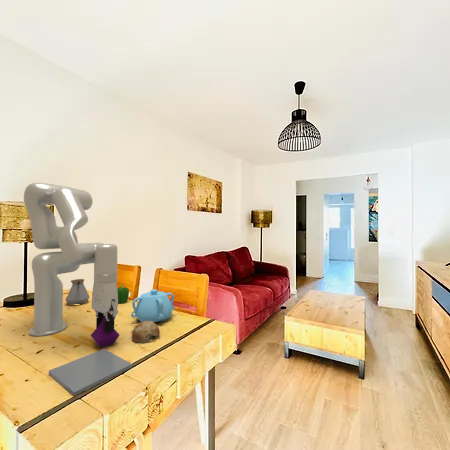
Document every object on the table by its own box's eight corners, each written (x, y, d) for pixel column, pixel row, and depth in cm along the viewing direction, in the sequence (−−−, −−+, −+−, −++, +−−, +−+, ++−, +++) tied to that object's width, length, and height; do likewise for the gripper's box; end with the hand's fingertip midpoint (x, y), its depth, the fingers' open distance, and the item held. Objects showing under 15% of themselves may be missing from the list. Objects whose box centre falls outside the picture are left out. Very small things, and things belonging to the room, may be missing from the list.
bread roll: (139, 355, 88) (146, 337, 87) (123, 336, 93) (129, 319, 92) (160, 344, 97) (167, 327, 95) (144, 328, 102) (150, 311, 100)
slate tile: (48, 374, 70) (48, 370, 70) (104, 351, 83) (104, 348, 83) (74, 396, 61) (74, 392, 61) (132, 367, 74) (132, 363, 74)
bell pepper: (121, 305, 135) (121, 286, 135) (110, 303, 137) (110, 285, 138) (132, 301, 142) (132, 283, 143) (121, 299, 145) (121, 282, 146)
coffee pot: (65, 302, 140) (66, 275, 140) (88, 299, 146) (89, 273, 146) (64, 313, 122) (64, 282, 122) (91, 309, 128) (91, 280, 128)
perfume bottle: (111, 337, 94) (112, 290, 94) (119, 344, 89) (120, 293, 89) (90, 344, 89) (90, 293, 89) (97, 351, 83) (97, 297, 84)
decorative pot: (149, 312, 123) (149, 284, 124) (178, 315, 119) (178, 286, 119) (127, 324, 108) (127, 292, 108) (159, 328, 103) (159, 295, 103)
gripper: (83, 277, 91) (82, 327, 91) (108, 283, 81) (107, 339, 81) (103, 274, 97) (103, 321, 97) (128, 279, 87) (128, 331, 87)
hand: (105, 328), depth 89 cm, fingers closed on perfume bottle, 5 cm apart
